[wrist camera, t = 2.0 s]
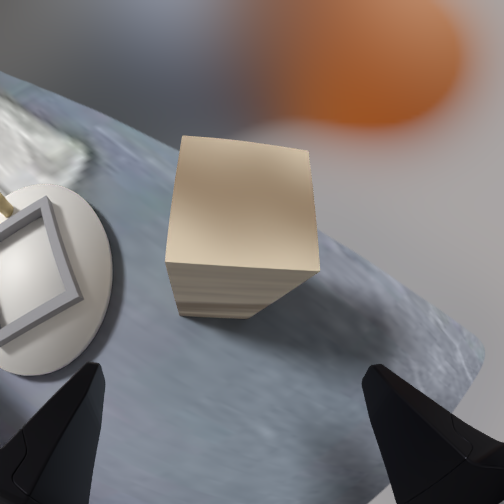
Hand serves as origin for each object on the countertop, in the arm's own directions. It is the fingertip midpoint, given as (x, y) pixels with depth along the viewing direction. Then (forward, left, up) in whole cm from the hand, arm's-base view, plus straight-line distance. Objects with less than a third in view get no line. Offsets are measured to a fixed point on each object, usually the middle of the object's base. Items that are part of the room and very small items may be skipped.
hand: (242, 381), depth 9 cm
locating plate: (+1, +17, -12) cm, 21 cm away
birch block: (+6, +2, -12) cm, 14 cm away
